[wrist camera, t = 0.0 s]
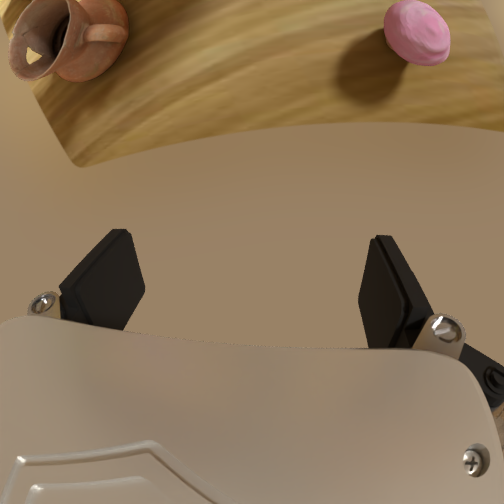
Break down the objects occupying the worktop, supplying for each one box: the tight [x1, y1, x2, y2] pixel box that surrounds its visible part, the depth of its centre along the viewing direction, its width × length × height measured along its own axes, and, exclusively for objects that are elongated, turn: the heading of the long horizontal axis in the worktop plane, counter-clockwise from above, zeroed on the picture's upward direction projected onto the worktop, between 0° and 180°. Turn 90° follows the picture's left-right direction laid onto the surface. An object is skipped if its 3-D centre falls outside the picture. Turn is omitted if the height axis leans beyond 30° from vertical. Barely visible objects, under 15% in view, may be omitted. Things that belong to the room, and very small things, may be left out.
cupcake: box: [384, 0, 450, 66], centre depth 23 cm, size 9×9×10 cm
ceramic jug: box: [8, 0, 129, 82], centre depth 24 cm, size 18×14×14 cm
